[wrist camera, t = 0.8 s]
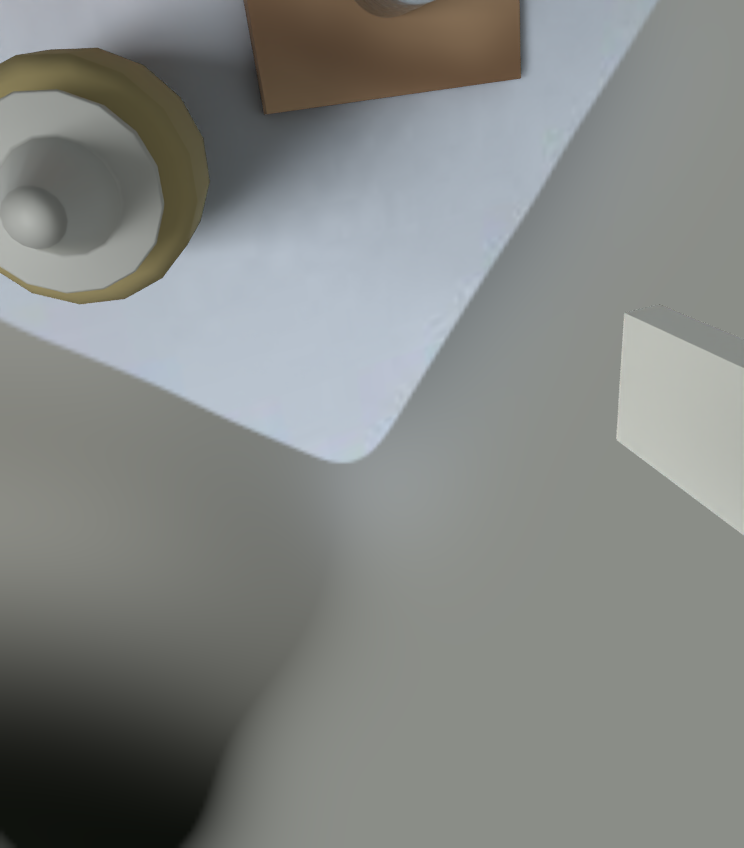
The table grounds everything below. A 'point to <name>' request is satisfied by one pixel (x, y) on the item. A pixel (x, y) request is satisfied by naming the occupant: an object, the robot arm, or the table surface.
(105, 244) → the squeeze bottle
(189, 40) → the table surface
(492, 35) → the board
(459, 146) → the table surface
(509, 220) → the table surface
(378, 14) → the post
